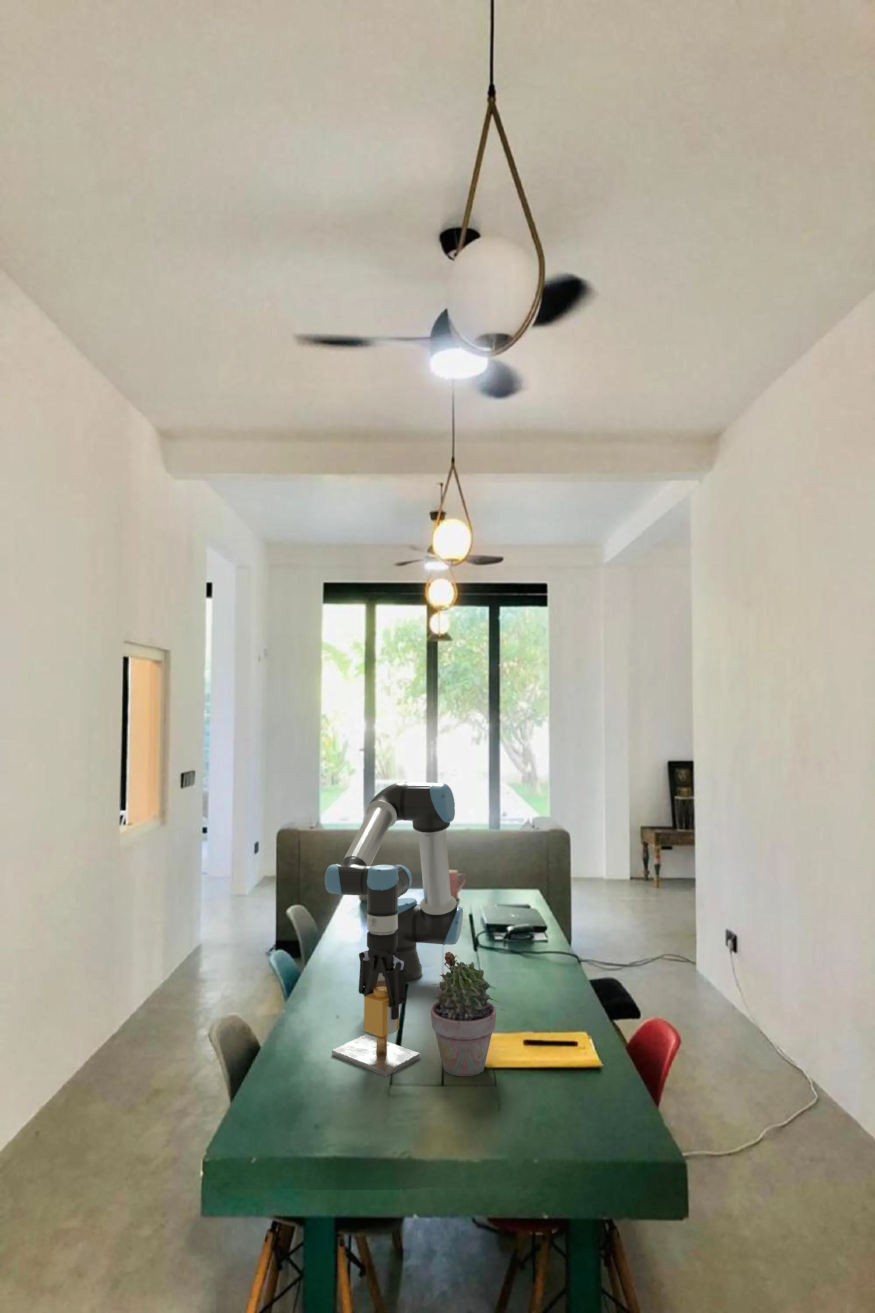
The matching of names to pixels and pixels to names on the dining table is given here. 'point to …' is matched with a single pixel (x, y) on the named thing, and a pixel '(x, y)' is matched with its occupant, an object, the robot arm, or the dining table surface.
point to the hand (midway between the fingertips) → (381, 1029)
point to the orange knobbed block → (377, 1012)
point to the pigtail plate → (376, 1054)
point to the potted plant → (463, 1019)
